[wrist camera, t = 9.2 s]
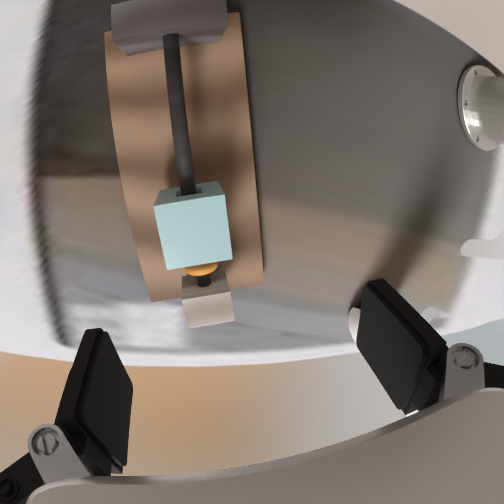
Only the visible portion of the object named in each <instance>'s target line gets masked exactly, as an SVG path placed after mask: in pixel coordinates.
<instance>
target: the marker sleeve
mask: <svg viewBox="0 0 504 504" xmlns="http://www.w3.org/2000/svg"><path fill="white" fill-rule="evenodd" d="M196 191H197V194H191V195H185V196H181V190H180V187H175V188H169V189H164V190H159V193H158V196H157V198H156V201H155V203H154V212H155V217H156V222H157V227H158V231H159V236H160V241H161V245H162V250H163V254H164V259H165V263H166V267H167V270H171V269H177V268H183V267H189V266H195V265H201V264H207V263H213V262H219V261H225V260H231V259H233V257H232V250H231V242H230V234H229V226H228V218H227V210H226V201H225V194H224V192H223V190H222V188H221V186H220V184H219V182H218V181H213V182H206V183H200V184H196Z"/></svg>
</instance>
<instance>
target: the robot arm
mask: <svg viewBox="0 0 504 504" xmlns="http://www.w3.org/2000/svg"><path fill="white" fill-rule="evenodd" d="M458 110H459V115H460V120H461V123H462V126H463V129H464V131H465V133H466V136H467V137H468V139H469V140H470V142H471V143H472V144H473V145H474V146H476V147H477V148H479V149H482V150H487V151H490V150H493V149H495V148H496V147H497V146H498V145H499V144H500V143H501V144H504V77H498V76H495V74H494V73H493V72H492V71H491V70H490V69H488V68H487V67H485V66H481V65H473V66H470V67H469V68H467V69H466V70H465V71H464V73H463V74H462V77H461V79H460V83H459V87H458ZM356 344H357V347H358V349H359V351H360V352H361V354H362V355H363V357H364V358H365V360H366V361H367V363H368V364H369V366H370V367H371V369H372V370H373V372H374V373H375V375H376V376H377V378H378V379H379V381H380V383H381V384H382V386H383V387H384V389H385V390H386V392H387V393H388V395H389V397H390V398H391V400H392V401H393V403H394V404H395V406H396V407H397V408H398V409H402V411H403V412H404V414H405V415H407V414H409V413H412V412H414V411H416V410H418V412H417V413H414V414H412V415H410V416H408V417H405V418H403V419H401V420H398V421H396V422H393V423H391V424H389V425H386V426H384V427H381V428H379V429H376V430H374V431H372V432H368V433H366V434H363V435H360V436H357V437H355V438H352V439H349V440H346V441H343V442H340V443H337V444H334V445H331V446H327V447H324V448H321V449H317V450H314V451H310V452H306V453H303V454H299V455H295V456H291V457H287V458H282V459H278V460H274V461H269V462H264V463H259V464H254V465H248V466H243V467H236V468H230V469H223V470H217V471H208V472H200V473H188V474H175V475H156V476H111V473H116V474H122V470H123V466H126V464H127V452H128V438H129V426H130V414H131V405H132V396H133V385H132V382H131V380H130V378H129V376H128V374H127V372H126V370H125V368H124V366H123V364H122V362H121V360H120V358H119V356H118V354H117V351H116V349H115V347H114V345H113V343H112V341H111V338H110V336H109V334H108V332H106V331H105V332H104V331H103V330H102V329H101V328H95V329H87V330H86V331H85V333H84V335H83V338H82V341H81V343H80V346H79V349H78V352H77V354H76V357H75V360H74V363H73V366H72V368H71V370H70V372H69V375H68V379H67V382H66V385H65V388H64V391H63V394H62V398H61V401H60V405H59V408H58V412H57V416H56V419H55V423H54V424H43V425H40V426H38V427H37V428H36V429H34V430H33V432H32V433H31V434H30V436H29V439H28V449H29V452H28V453H27V454H26V455H24V456H23V457H22V458H20V459H19V460H18V461H16V462H15V463H13V464H12V465H11V466H9V467H8V468H6V469H5V470H4V471H2V472H1V473H0V504H504V366H501V365H496V364H491V363H487V362H483V356H482V354H481V353H480V351H479V350H478V349H477V348H475V347H474V346H472V345H469V344H466V343H458V344H454V345H453V346H451V347H450V348H448V347H447V346H446V341H445V340H444V339H443V338H442V337H441V336H440V335H439V334H438V333H437V332H436V331H435V330H434V329H433V328H432V326H431V325H430V324H429V323H428V322H427V321H426V320H425V319H424V318H423V317H422V316H421V315H420V314H419V313H418V312H417V311H416V310H415V309H414V308H413V307H412V306H411V305H410V304H409V303H408V302H407V301H406V300H405V299H404V298H403V297H402V296H401V295H400V294H399V293H398V292H397V291H396V290H395V289H394V288H393V287H392V286H391V285H390V284H388V283H387V282H386V281H385V280H384V279H383V278H380V279H376V280H372V281H369V282H367V285H366V286H364V288H363V294H362V302H361V310H360V318H359V325H358V332H357V338H356Z"/></svg>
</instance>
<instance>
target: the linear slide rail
mask: <svg viewBox="0 0 504 504" xmlns="http://www.w3.org/2000/svg"><path fill="white" fill-rule="evenodd" d="M111 30H112V31H109V32H105V33H104V35H105V56H106V70H107V82H108V92H109V102H110V110H111V118H112V126H113V133H114V140H115V147H116V153H117V159H118V165H119V170H120V176H121V181H122V186H123V191H124V196H125V201H126V206H127V211H128V215H129V220H130V224H131V228H132V233H133V237H134V241H135V245H136V249H137V253H138V257H139V261H140V264H141V268H142V272H143V275H144V279H145V282H146V286H147V289H148V293H149V296H150V300H151V302H156V301H163V300H169V299H175V298H182V303H183V307H184V311H185V315H186V319H187V322H188V326H189V328H195V327H201V326H207V325H213V324H219V323H224V322H230V321H235V320H234V313H233V306H232V300H231V293H230V289H235V288H240V287H246V286H251V285H257V284H262V283H264V275H263V263H262V250H261V238H260V227H259V215H258V203H257V192H256V180H255V169H254V158H253V147H252V136H251V125H250V115H249V104H248V93H247V83H246V73H245V62H244V52H243V42H242V32H241V23H240V13H239V12H236V13H227V4H226V0H131V1H126V2H122V3H118V4H114V5H111ZM213 181H218V182H219V184H220V186H221V188H222V190H223V192H224V194H225V201H226V210H227V218H228V226H229V234H230V242H231V250H232V257H233V259H231V260H225V261H219V262H213V263H207V264H201V265H195V266H189V267H183V268H177V269H171V270H167V267H166V263H165V259H164V254H163V250H162V245H161V241H160V236H159V231H158V227H157V222H156V217H155V212H154V203H155V201H156V198H157V196H158V193H159V190H164V189H169V188H175V187H180V190H181V196H185V195H191V194H197V191H196V184H200V183H206V182H213Z"/></svg>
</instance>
